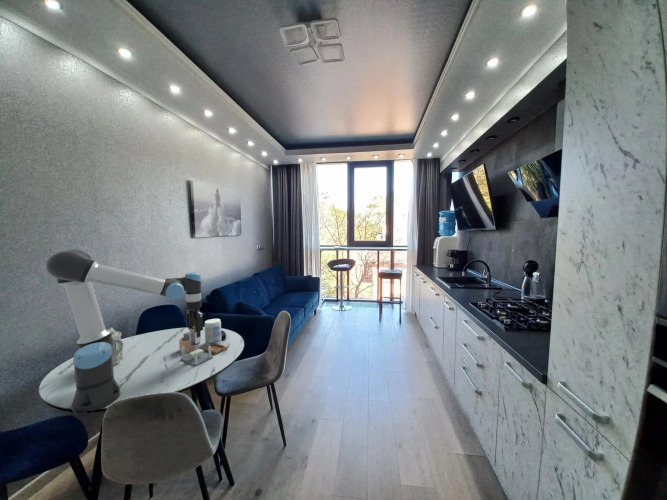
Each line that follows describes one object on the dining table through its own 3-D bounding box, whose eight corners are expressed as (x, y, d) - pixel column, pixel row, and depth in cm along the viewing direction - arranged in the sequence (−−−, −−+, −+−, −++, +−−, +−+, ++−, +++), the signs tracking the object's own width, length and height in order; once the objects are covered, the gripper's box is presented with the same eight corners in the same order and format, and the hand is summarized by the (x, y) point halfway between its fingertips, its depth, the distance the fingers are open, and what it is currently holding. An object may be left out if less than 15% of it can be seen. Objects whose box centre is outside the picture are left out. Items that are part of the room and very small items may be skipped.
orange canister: (185, 353, 148) (184, 337, 147) (177, 350, 152) (176, 334, 151) (198, 348, 155) (197, 332, 154) (190, 345, 159) (189, 330, 158)
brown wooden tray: (215, 354, 146) (215, 352, 146) (203, 350, 152) (202, 347, 152) (227, 349, 153) (227, 346, 153) (215, 344, 159) (214, 342, 159)
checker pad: (193, 357, 138) (193, 354, 138) (189, 355, 140) (189, 353, 140) (203, 352, 143) (203, 350, 143) (199, 351, 145) (199, 348, 145)
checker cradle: (195, 366, 134) (194, 353, 134) (181, 359, 141) (180, 347, 141) (212, 358, 143) (212, 346, 142) (198, 352, 150) (197, 340, 149)
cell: (193, 346, 138) (192, 328, 137) (188, 344, 140) (188, 326, 140) (201, 342, 142) (201, 325, 141) (196, 341, 144) (196, 324, 144)
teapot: (104, 374, 128) (101, 338, 126) (81, 371, 131) (77, 336, 129) (135, 358, 144) (133, 326, 142) (114, 355, 147) (111, 324, 145)
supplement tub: (216, 346, 157) (215, 323, 156) (202, 346, 158) (201, 323, 157) (224, 340, 167) (223, 318, 166) (210, 339, 168) (210, 318, 167)
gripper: (209, 301, 138) (211, 342, 140) (191, 296, 147) (192, 335, 149) (196, 304, 132) (197, 347, 133) (178, 299, 141) (179, 340, 142)
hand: (195, 341), depth 141 cm, fingers closed on cell, 4 cm apart
